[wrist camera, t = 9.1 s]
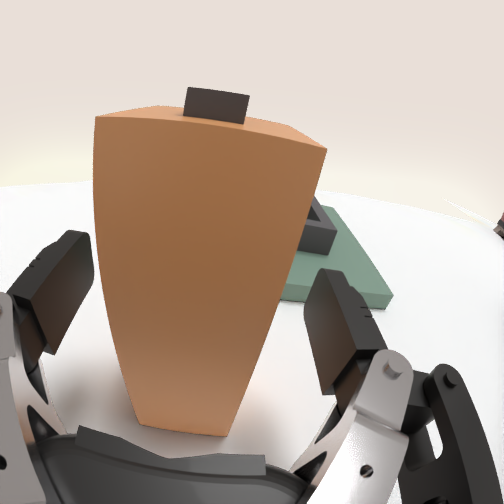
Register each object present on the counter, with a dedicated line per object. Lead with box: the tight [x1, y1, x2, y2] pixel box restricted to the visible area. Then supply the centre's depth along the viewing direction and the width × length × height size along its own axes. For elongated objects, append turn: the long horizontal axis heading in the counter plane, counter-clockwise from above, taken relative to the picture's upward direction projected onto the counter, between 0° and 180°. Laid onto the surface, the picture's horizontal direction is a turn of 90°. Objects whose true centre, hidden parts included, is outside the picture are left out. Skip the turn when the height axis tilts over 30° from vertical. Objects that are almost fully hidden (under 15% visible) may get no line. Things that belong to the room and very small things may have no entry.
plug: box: [93, 87, 327, 437], centre depth 9 cm, size 4×4×13 cm
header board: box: [280, 196, 394, 309], centre depth 26 cm, size 18×18×4 cm
